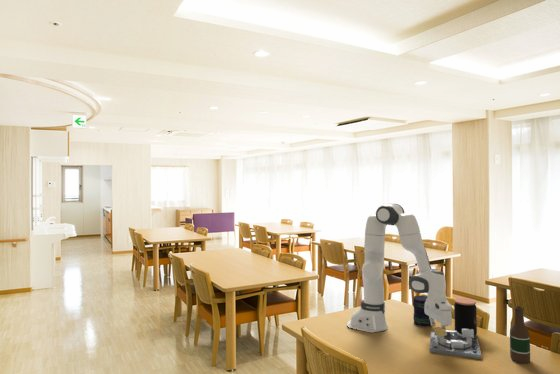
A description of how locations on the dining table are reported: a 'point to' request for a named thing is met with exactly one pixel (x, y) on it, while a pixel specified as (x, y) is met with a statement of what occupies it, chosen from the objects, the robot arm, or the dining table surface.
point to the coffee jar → (465, 315)
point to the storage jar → (420, 312)
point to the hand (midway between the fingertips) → (437, 328)
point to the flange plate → (466, 352)
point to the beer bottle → (519, 338)
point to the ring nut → (465, 336)
